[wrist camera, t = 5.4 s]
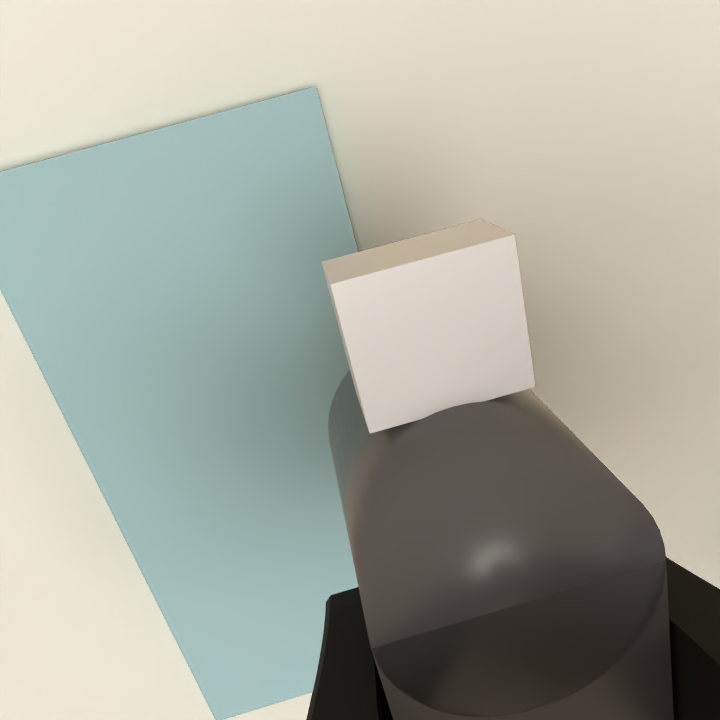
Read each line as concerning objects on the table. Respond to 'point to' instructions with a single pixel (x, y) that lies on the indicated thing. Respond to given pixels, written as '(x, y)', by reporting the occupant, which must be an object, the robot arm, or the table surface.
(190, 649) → the desk mat
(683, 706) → the robot arm
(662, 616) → the connector
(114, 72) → the table surface
